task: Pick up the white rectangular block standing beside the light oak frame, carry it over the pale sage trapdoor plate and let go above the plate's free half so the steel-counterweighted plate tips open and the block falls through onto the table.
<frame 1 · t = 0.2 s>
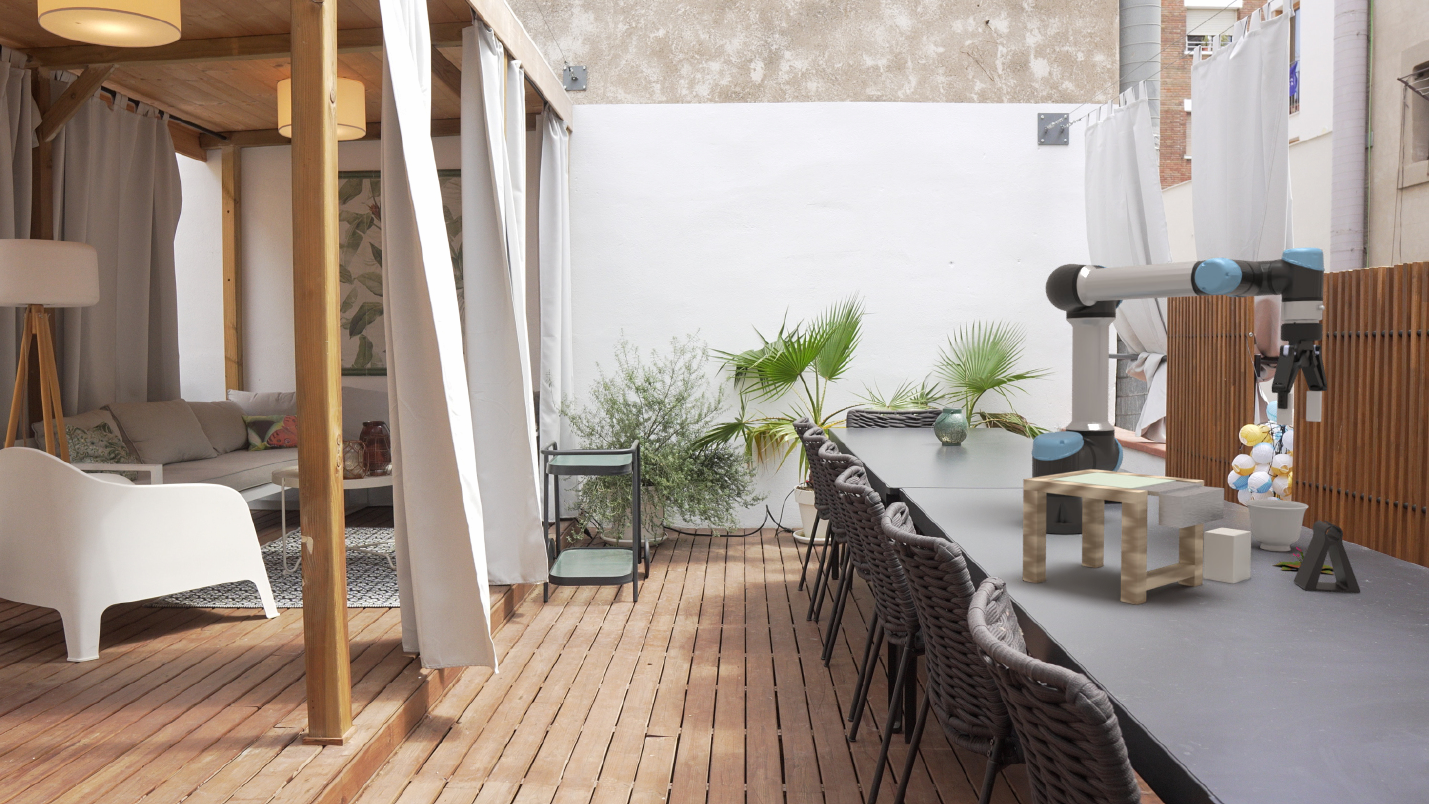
hand: (1299, 423, 206), 28 cm above the table, fingers open, 13 cm apart
trapdoor: (1135, 498, 180), point 17 cm above the table, hinge at 0.0°
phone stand: (1326, 589, 178), on the table
teacup: (1272, 548, 214), on the table
white rectangular block: (1226, 578, 187), on the table
trapdoor frame: (1111, 582, 184), on the table
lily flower: (1305, 571, 194), on the table
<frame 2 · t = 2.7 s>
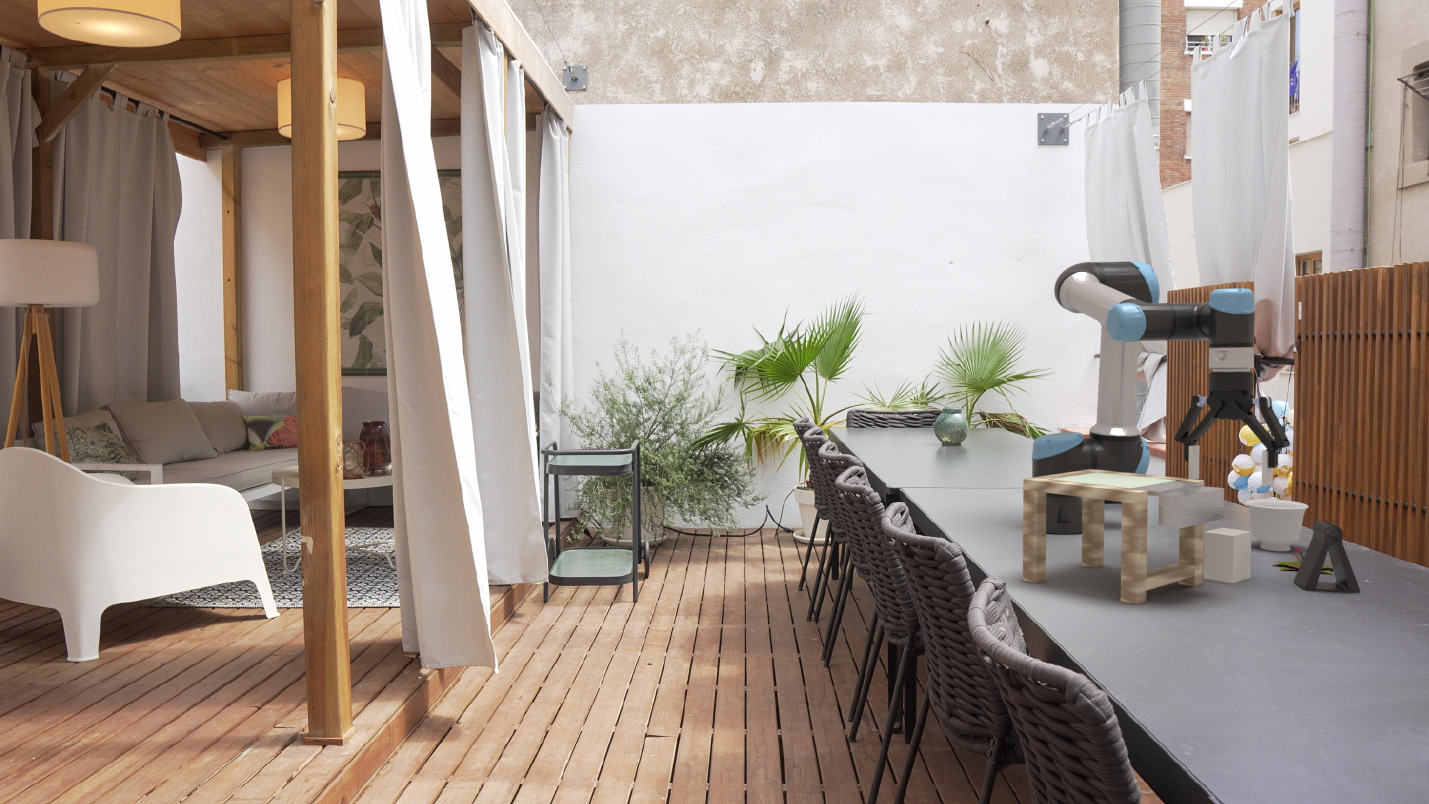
hand: (1229, 482, 185), 18 cm above the table, fingers open, 13 cm apart
nothing on the table moved.
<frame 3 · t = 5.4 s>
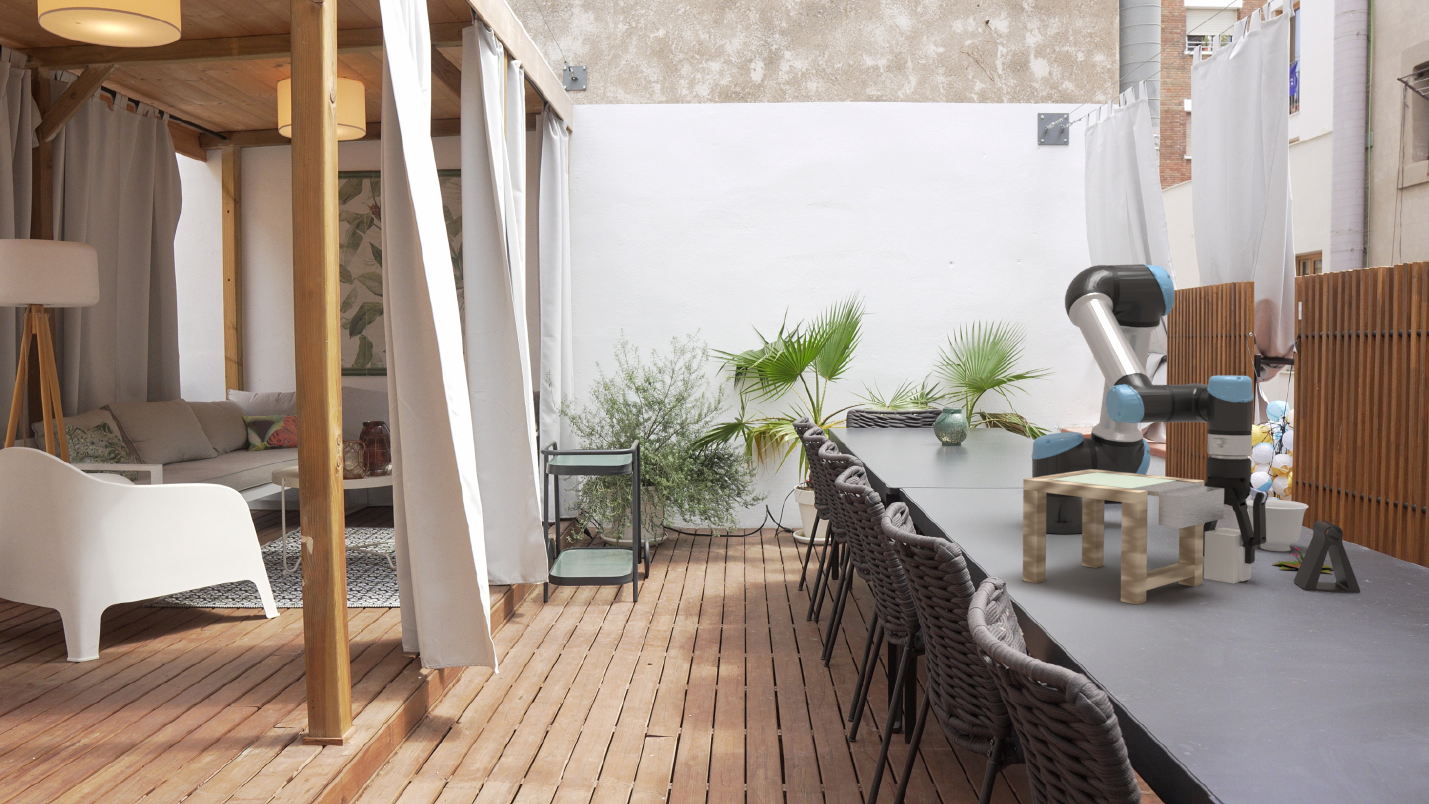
hand: (1227, 576, 187), 0 cm above the table, fingers closed on white rectangular block, 6 cm apart
white rectangular block: (1227, 578, 187), on the table, touching gripper
everything else where it was.
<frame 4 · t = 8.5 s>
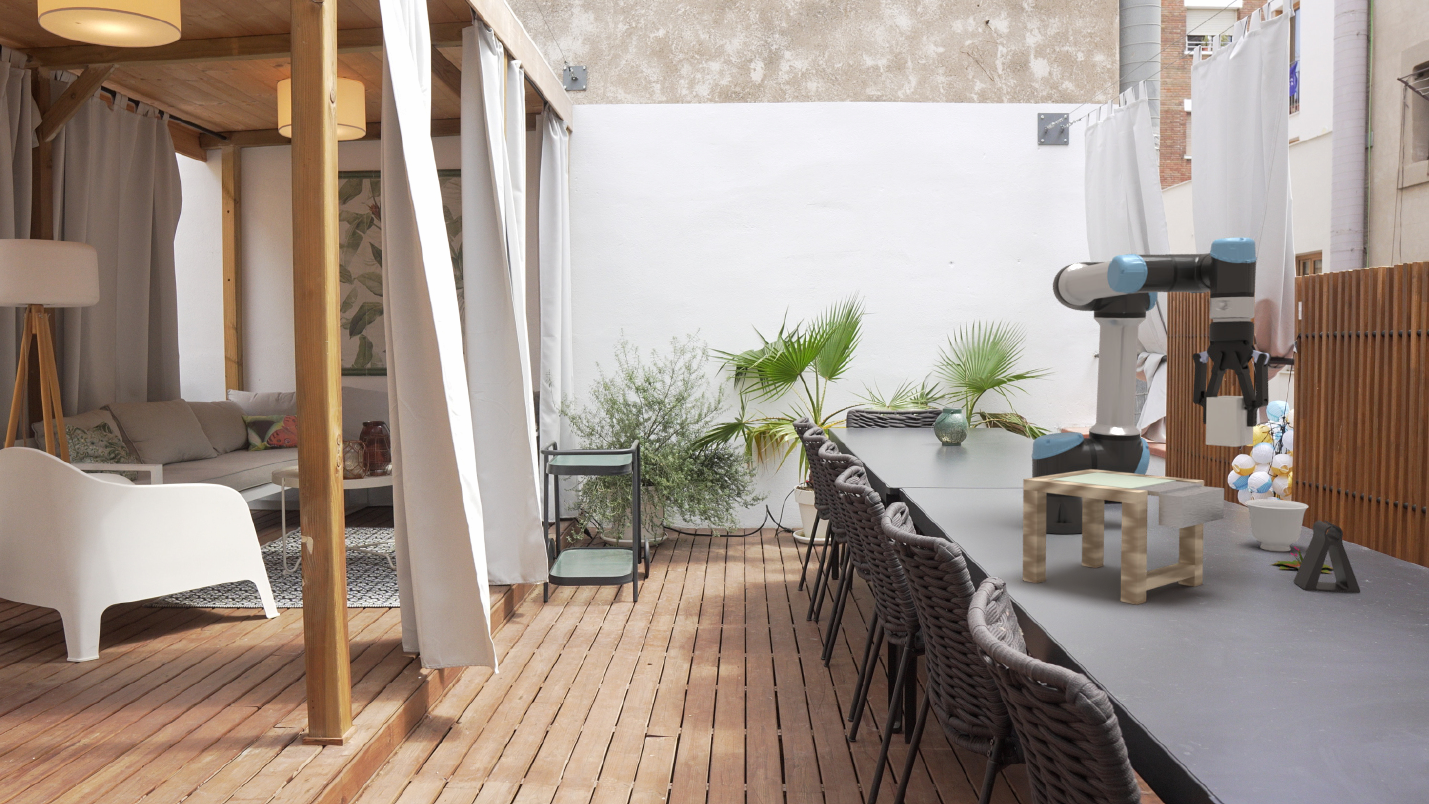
hand: (1229, 442, 185), 26 cm above the table, fingers closed on white rectangular block, 5 cm apart
white rectangular block: (1229, 444, 186), point 26 cm above the table, touching gripper
everything else where it was.
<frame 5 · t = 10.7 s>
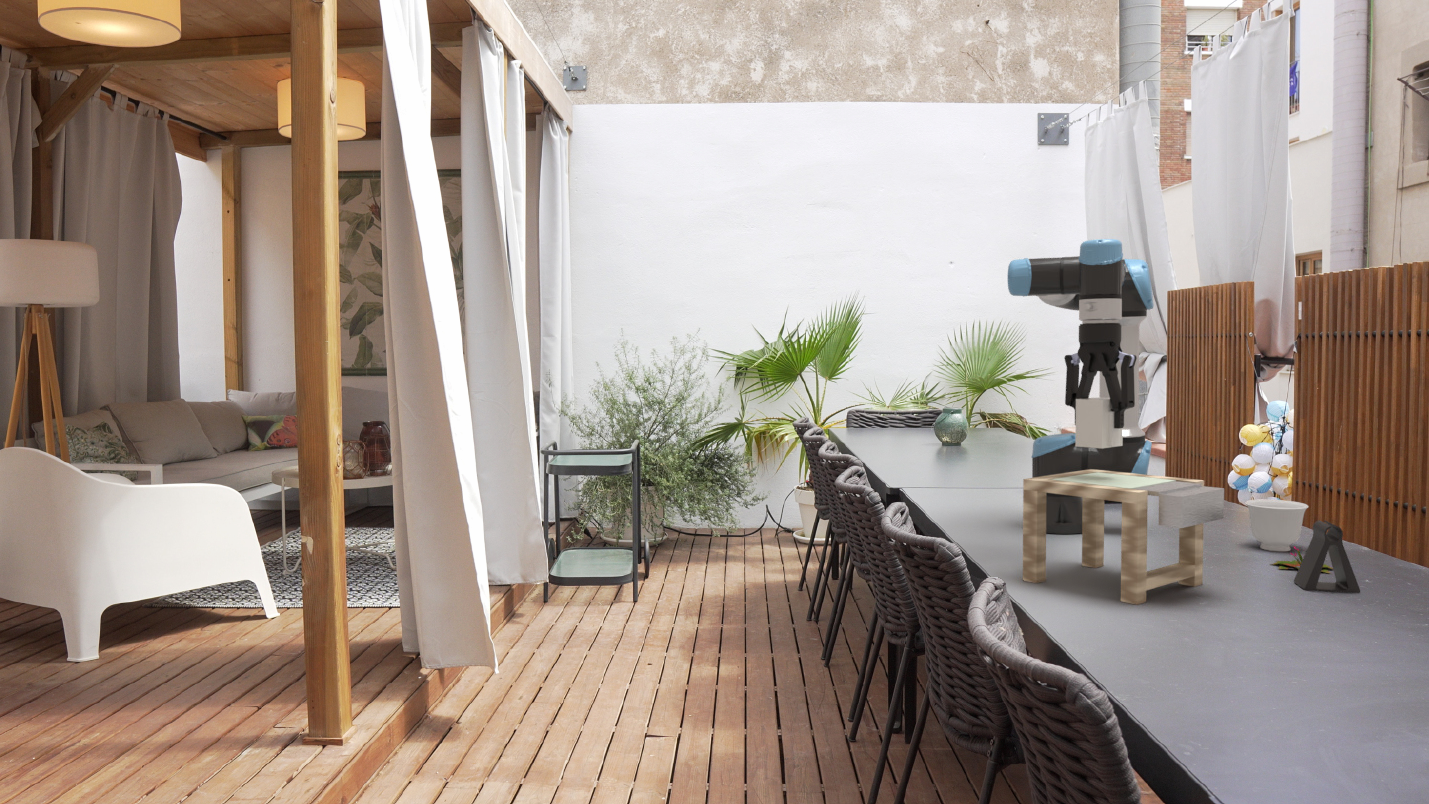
hand: (1098, 444, 185), 26 cm above the table, fingers closed on white rectangular block, 5 cm apart
white rectangular block: (1098, 446, 185), point 26 cm above the table, touching gripper
everything else where it was.
when the fingers open (22 cm above the table, at t = 11.5 s): white rectangular block drops 13 cm and tips over, point 9 cm above the table.
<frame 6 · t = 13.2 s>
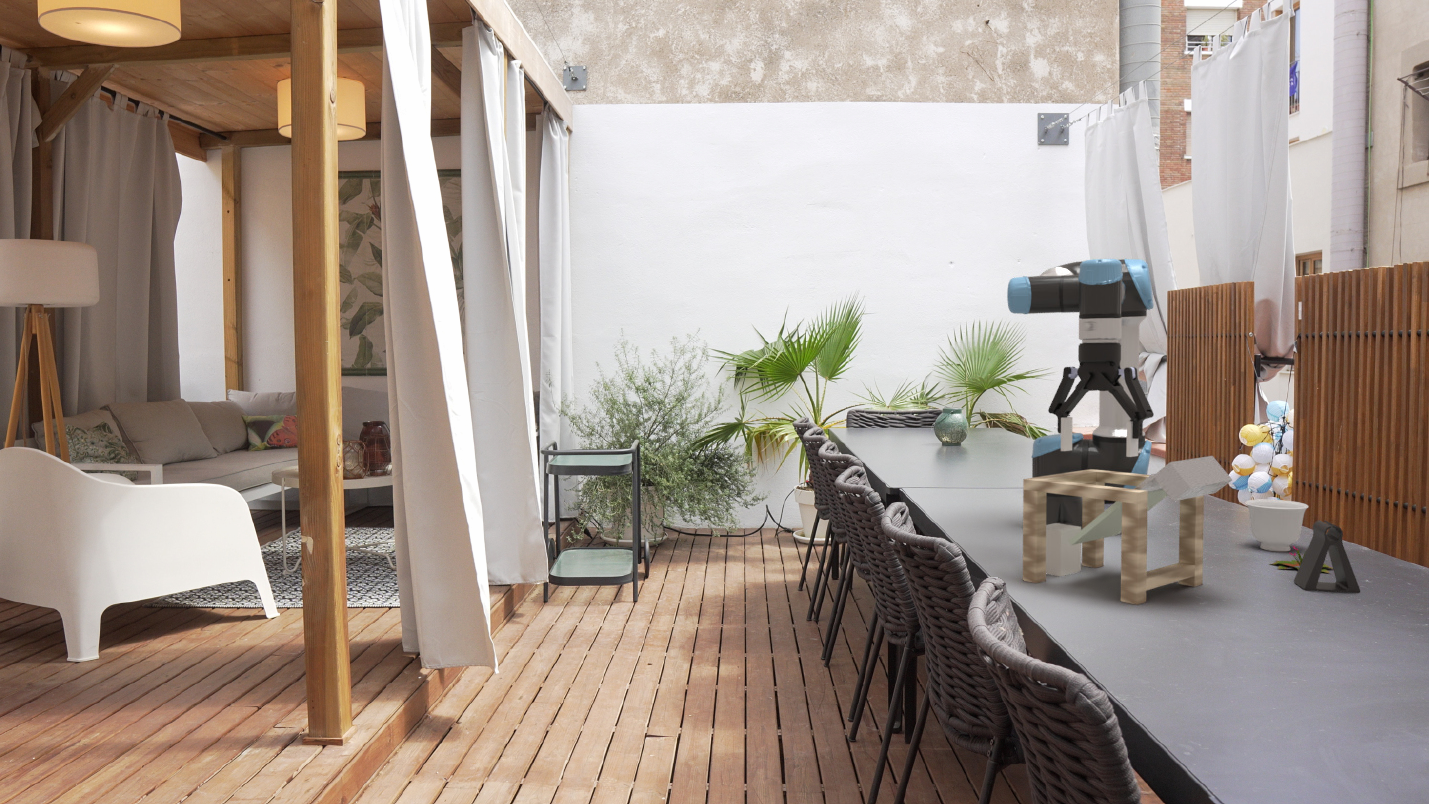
hand: (1098, 453, 185), 24 cm above the table, fingers open, 13 cm apart
trapdoor: (1149, 510, 178), point 15 cm above the table, hinge at -42.0°
white rectangular block: (1058, 526, 193), point 9 cm above the table, tilted 180°
everything else where it was.
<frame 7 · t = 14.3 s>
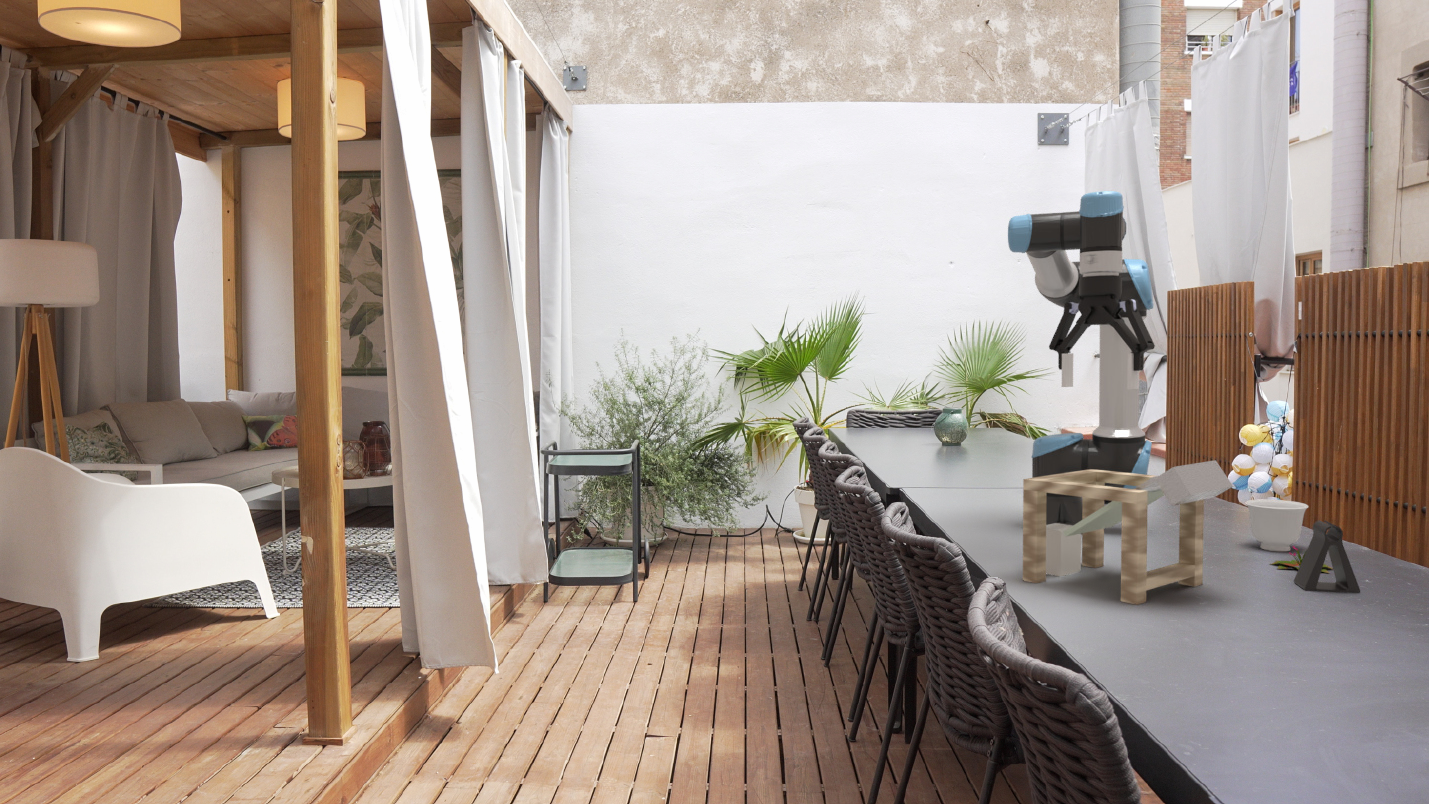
hand: (1099, 388, 185), 37 cm above the table, fingers open, 13 cm apart
trapdoor: (1146, 509, 178), point 15 cm above the table, hinge at -35.5°
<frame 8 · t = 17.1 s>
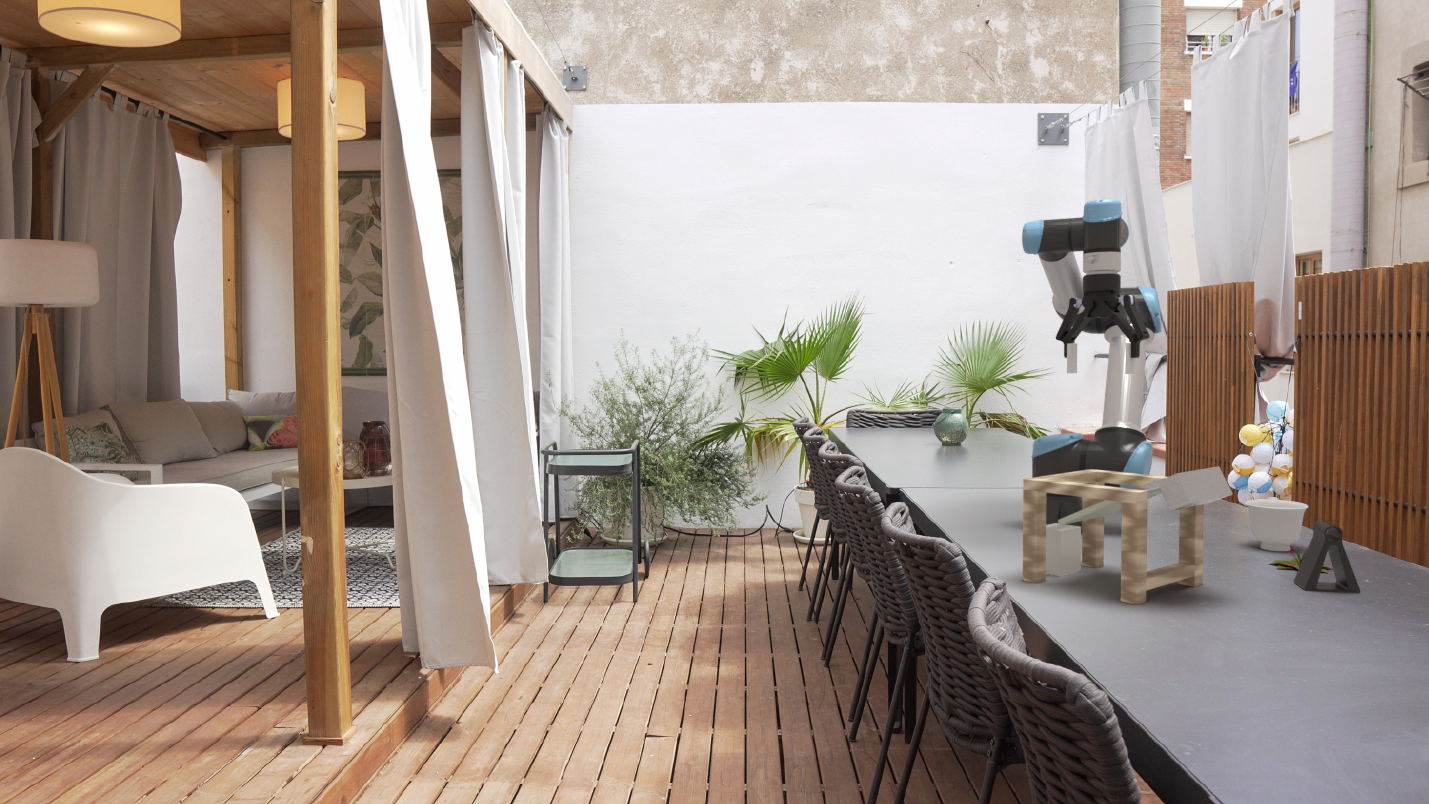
hand: (1100, 373, 208), 39 cm above the table, fingers open, 13 cm apart
trapdoor: (1143, 507, 179), point 15 cm above the table, hinge at -27.3°
at the end: white rectangular block point 8.9 cm above the table; white rectangular block 11.5 cm from the trapdoor frame (horizontally); the gripper is holding nothing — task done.
